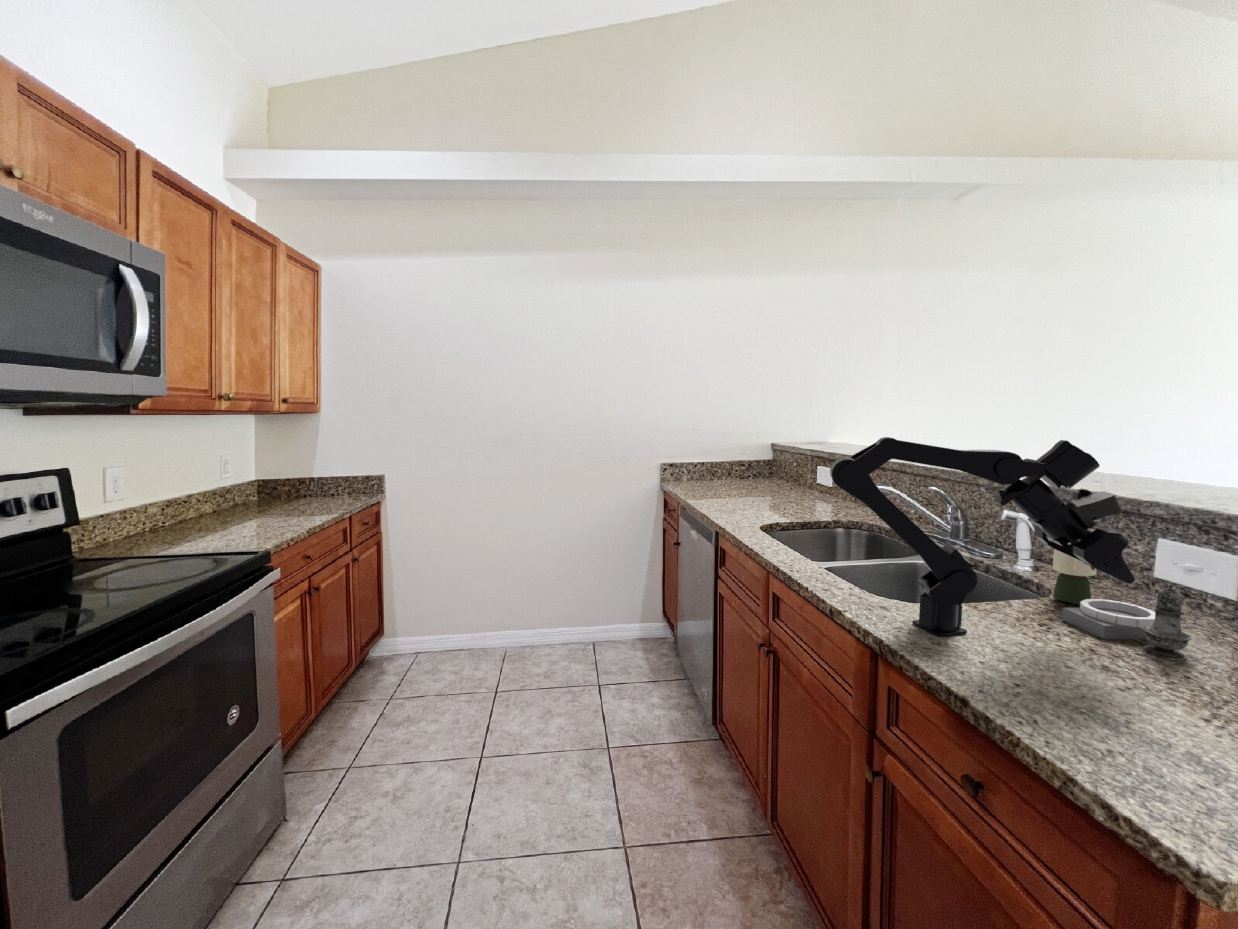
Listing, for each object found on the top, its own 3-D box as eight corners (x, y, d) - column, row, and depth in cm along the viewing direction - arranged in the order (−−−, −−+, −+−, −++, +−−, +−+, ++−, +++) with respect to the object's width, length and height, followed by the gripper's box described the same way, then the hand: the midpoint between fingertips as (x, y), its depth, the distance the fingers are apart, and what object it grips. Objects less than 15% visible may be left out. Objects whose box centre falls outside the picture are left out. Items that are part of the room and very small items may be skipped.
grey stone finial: (1130, 646, 93) (1136, 578, 92) (1161, 645, 93) (1167, 578, 92) (1167, 661, 87) (1174, 589, 86) (1200, 660, 88) (1207, 589, 86)
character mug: (1097, 614, 108) (1102, 551, 107) (1052, 606, 112) (1056, 546, 111) (1090, 599, 117) (1094, 540, 116) (1048, 593, 121) (1052, 536, 120)
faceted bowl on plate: (1107, 641, 95) (1109, 619, 95) (1059, 618, 105) (1060, 598, 105) (1180, 641, 95) (1182, 619, 95) (1124, 618, 105) (1126, 599, 105)
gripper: (1117, 481, 82) (1202, 557, 80) (1058, 470, 100) (1126, 532, 98) (1053, 529, 85) (1132, 603, 83) (1006, 509, 103) (1071, 570, 101)
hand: (1115, 574), depth 91 cm, fingers open, 9 cm apart
